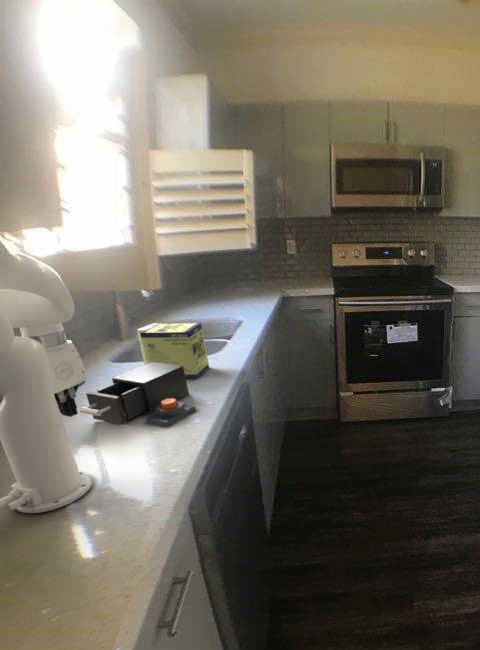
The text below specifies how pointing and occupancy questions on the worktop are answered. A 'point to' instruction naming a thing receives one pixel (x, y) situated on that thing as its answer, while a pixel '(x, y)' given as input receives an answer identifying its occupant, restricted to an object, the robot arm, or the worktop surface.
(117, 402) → the drawer
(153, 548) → the worktop surface
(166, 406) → the button
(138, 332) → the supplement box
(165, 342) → the protein box
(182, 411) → the block
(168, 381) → the dark grey cabinet
